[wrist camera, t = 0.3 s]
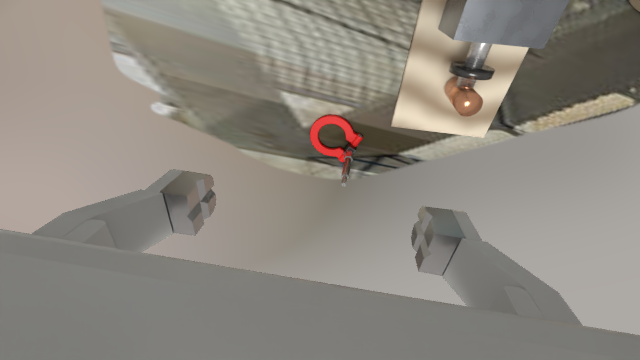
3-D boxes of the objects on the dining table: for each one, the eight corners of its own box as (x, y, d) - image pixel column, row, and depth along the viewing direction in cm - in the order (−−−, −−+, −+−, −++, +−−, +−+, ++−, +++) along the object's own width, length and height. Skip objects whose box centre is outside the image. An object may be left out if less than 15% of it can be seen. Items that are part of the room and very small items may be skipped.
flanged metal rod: (486, -61, 31) (513, -70, 25) (538, -58, 30) (576, -66, 25) (433, 96, 42) (444, 114, 37) (470, 100, 42) (486, 119, 36)
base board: (434, -52, 33) (436, -52, 32) (568, -42, 32) (573, -42, 31) (390, 123, 48) (391, 126, 47) (481, 134, 47) (483, 137, 46)
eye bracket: (450, -15, 34) (471, -14, 28) (531, -8, 34) (572, -5, 27) (437, 29, 37) (453, 40, 31) (511, 36, 37) (543, 48, 30)
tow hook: (303, 138, 53) (342, 162, 55) (285, 174, 43) (333, 202, 44) (325, 104, 48) (366, 132, 50) (311, 136, 38) (363, 169, 39)
